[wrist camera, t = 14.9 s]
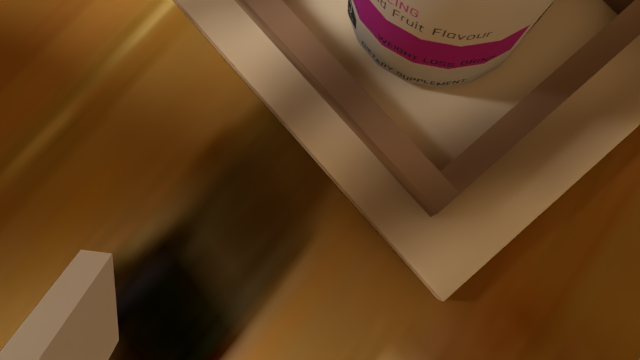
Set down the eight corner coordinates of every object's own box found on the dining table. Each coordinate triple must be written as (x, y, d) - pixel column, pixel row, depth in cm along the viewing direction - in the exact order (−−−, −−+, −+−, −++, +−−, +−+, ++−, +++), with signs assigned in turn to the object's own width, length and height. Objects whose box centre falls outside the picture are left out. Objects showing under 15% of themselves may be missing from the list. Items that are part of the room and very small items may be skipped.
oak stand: (166, -8, 28) (142, -46, 25) (431, -224, 30) (443, -288, 26) (437, 299, 26) (452, 305, 22) (716, 48, 27) (771, 17, 24)
